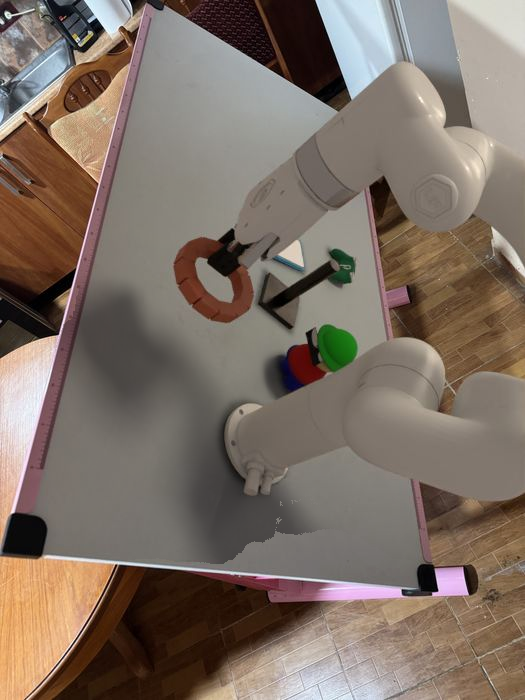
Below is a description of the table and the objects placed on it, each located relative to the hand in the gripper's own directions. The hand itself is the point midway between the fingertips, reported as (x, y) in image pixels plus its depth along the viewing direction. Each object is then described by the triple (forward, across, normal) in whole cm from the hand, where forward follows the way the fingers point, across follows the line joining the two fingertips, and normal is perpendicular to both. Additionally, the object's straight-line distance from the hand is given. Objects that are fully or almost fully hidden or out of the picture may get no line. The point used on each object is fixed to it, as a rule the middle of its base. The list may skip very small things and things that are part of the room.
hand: (219, 260), depth 69 cm
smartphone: (+17, -35, +17) cm, 43 cm away
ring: (0, +4, 0) cm, 4 cm away
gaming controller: (+17, -43, +34) cm, 58 cm away
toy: (+17, -8, +26) cm, 32 cm away
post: (+17, -22, +21) cm, 35 cm away
